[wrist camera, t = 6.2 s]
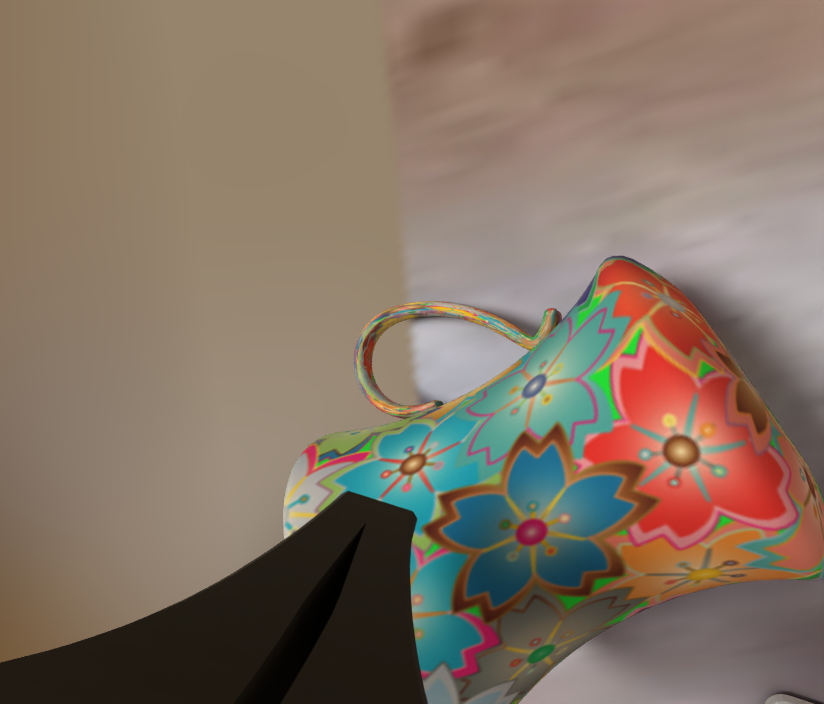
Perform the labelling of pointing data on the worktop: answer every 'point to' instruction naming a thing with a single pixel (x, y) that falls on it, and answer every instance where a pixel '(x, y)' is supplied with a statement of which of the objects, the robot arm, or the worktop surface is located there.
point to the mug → (572, 483)
